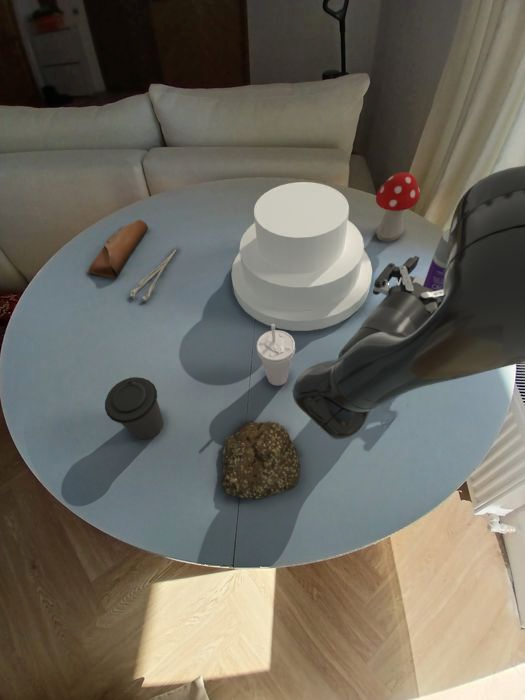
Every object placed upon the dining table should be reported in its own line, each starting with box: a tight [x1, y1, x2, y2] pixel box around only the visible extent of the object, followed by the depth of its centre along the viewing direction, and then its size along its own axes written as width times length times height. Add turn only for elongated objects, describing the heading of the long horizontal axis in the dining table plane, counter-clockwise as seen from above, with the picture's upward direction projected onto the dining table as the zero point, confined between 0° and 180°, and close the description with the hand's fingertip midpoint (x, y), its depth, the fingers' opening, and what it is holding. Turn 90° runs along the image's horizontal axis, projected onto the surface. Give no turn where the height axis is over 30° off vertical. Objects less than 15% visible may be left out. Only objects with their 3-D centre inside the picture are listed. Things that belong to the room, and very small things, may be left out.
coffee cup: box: [104, 376, 164, 441], centre depth 64 cm, size 8×8×10 cm
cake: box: [230, 181, 373, 332], centre depth 80 cm, size 30×30×18 cm
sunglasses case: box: [87, 219, 149, 279], centre depth 96 cm, size 18×7×7 cm, turn 167°
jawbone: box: [129, 249, 177, 302], centre depth 91 cm, size 17×5×2 cm, turn 160°
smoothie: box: [256, 324, 296, 387], centre depth 66 cm, size 6×6×14 cm
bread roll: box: [220, 420, 301, 500], centre depth 61 cm, size 13×12×5 cm
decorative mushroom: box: [375, 171, 421, 242], centre depth 88 cm, size 10×9×15 cm
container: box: [423, 228, 450, 300], centre depth 71 cm, size 5×5×15 cm
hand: (439, 270), depth 67 cm, fingers open, 8 cm apart
